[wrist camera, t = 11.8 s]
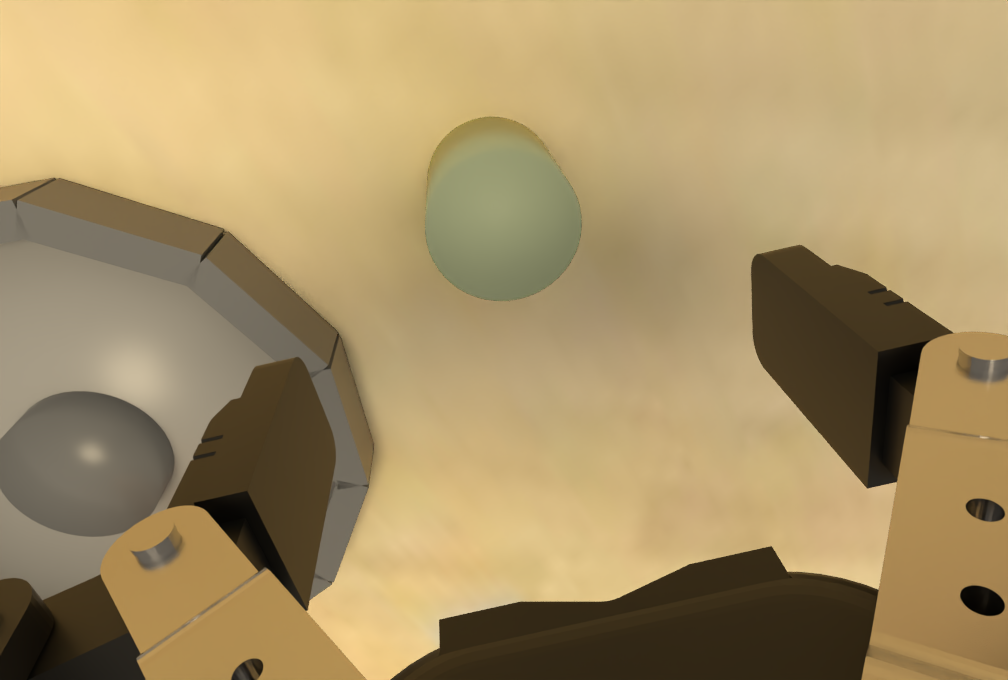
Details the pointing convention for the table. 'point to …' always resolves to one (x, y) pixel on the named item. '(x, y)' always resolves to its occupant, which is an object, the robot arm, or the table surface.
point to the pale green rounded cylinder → (499, 211)
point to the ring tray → (137, 373)
